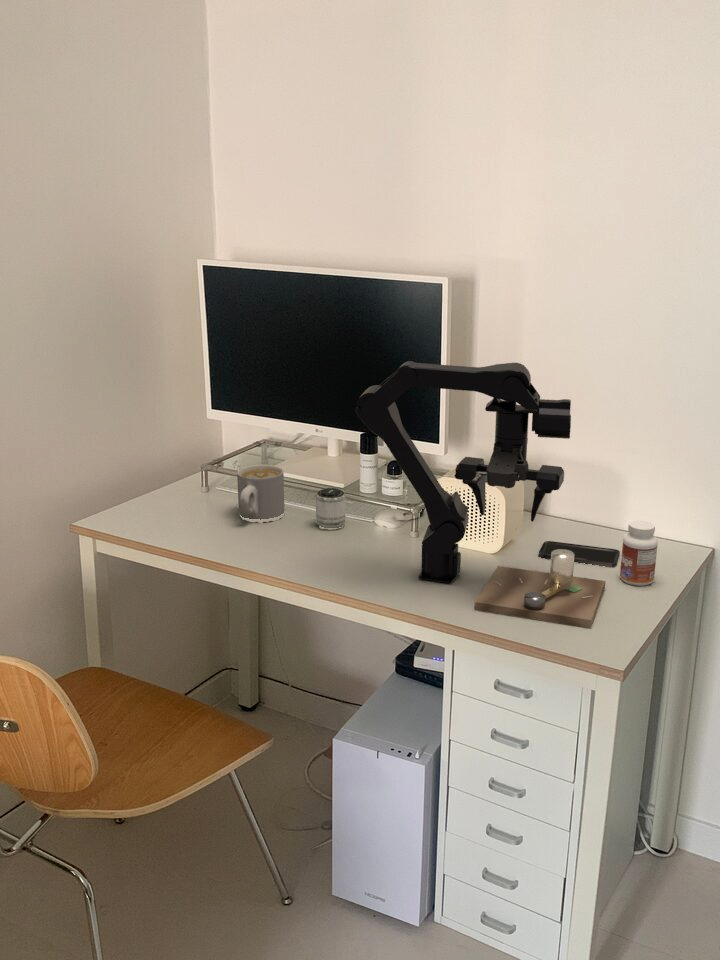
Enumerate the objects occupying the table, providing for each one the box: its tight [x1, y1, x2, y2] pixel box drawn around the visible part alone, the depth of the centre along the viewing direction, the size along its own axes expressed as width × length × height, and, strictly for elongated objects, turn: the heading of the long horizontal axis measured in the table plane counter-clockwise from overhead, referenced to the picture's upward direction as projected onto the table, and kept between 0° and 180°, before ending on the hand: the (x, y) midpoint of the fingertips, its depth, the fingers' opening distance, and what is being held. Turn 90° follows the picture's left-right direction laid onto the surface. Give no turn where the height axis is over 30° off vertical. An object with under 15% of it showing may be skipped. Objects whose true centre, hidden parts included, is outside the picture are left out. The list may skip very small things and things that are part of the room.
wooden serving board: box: [474, 565, 606, 629], centre depth 182 cm, size 20×17×2 cm
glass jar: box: [315, 487, 347, 528], centre depth 216 cm, size 6×6×8 cm
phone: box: [538, 540, 621, 568], centre depth 201 cm, size 8×1×15 cm
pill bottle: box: [619, 519, 659, 587], centre depth 188 cm, size 6×6×11 cm
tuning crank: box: [524, 549, 575, 609], centre depth 178 cm, size 13×4×7 cm, turn 136°
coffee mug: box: [236, 464, 285, 520], centre depth 220 cm, size 13×10×10 cm
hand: (507, 517), depth 186 cm, fingers open, 9 cm apart
